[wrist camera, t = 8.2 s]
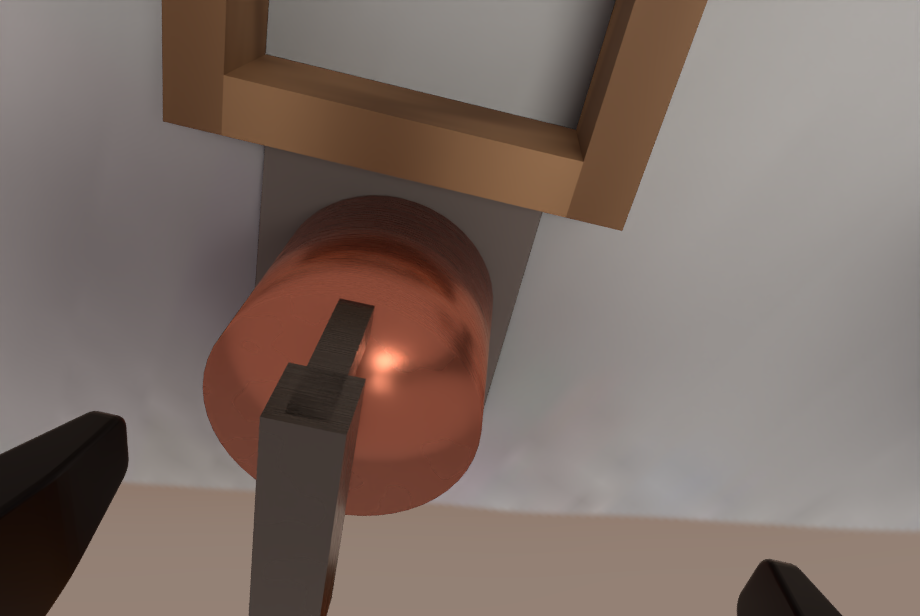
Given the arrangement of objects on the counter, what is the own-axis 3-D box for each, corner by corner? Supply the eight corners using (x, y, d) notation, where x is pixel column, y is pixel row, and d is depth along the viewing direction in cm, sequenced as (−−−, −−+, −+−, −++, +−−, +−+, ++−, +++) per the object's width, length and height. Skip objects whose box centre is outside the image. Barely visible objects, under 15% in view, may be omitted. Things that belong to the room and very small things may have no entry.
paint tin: (515, 223, 20) (505, 464, 12) (469, 401, 24) (434, 687, 15) (286, 172, 20) (98, 378, 11) (273, 360, 24) (124, 625, 15)
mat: (543, 201, 20) (544, 206, 20) (480, 413, 25) (479, 420, 24) (270, 136, 20) (265, 139, 20) (253, 361, 24) (249, 368, 24)
